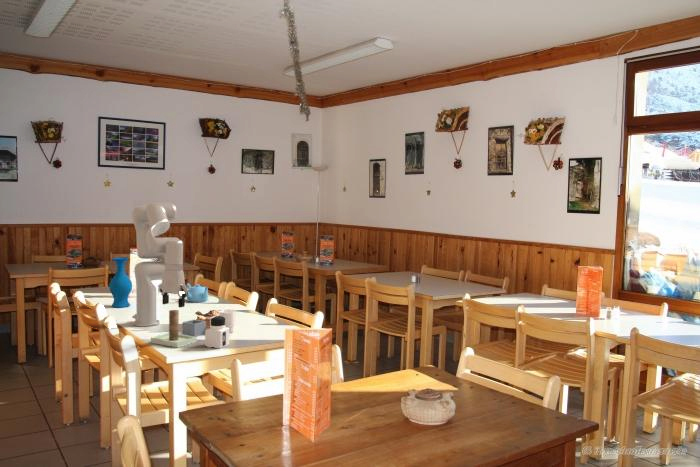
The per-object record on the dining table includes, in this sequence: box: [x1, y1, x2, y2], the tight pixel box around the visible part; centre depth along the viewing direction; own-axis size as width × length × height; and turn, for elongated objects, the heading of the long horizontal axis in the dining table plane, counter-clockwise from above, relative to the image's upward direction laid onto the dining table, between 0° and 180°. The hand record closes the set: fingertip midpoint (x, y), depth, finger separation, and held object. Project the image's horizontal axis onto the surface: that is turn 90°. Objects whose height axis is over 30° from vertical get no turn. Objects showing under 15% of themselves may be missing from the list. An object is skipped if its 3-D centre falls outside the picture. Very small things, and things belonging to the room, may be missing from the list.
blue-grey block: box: [182, 319, 207, 338], centre depth 286 cm, size 8×8×6 cm
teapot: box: [186, 282, 209, 303], centre depth 370 cm, size 15×15×10 cm
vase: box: [108, 256, 133, 308], centre depth 348 cm, size 12×13×28 cm
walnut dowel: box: [168, 309, 180, 341], centre depth 270 cm, size 4×4×13 cm
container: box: [204, 315, 230, 349], centre depth 266 cm, size 8×8×13 cm
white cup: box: [218, 309, 236, 334], centre depth 292 cm, size 8×8×10 cm
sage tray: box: [150, 332, 198, 348], centre depth 270 cm, size 16×12×2 cm
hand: (173, 305), depth 270 cm, fingers open, 9 cm apart
